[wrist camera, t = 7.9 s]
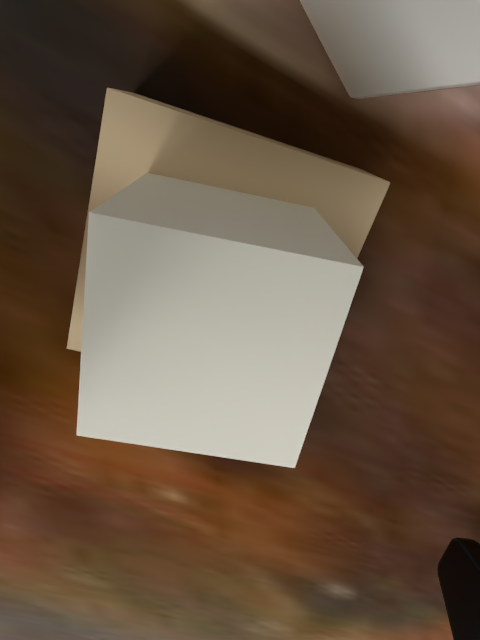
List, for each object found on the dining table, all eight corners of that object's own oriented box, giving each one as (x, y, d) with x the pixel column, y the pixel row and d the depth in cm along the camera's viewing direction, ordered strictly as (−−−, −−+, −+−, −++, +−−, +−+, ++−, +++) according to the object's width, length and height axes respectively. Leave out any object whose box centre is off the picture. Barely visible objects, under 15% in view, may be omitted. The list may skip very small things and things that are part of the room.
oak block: (282, 354, 21) (292, 405, 17) (97, 305, 20) (66, 348, 16) (358, 167, 17) (390, 182, 14) (135, 93, 16) (106, 87, 12)
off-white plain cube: (274, 350, 16) (294, 468, 11) (130, 324, 16) (76, 435, 10) (314, 207, 14) (363, 267, 9) (147, 172, 14) (88, 212, 8)
